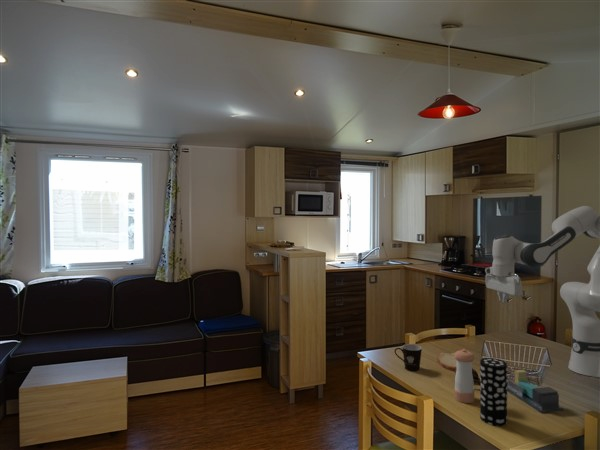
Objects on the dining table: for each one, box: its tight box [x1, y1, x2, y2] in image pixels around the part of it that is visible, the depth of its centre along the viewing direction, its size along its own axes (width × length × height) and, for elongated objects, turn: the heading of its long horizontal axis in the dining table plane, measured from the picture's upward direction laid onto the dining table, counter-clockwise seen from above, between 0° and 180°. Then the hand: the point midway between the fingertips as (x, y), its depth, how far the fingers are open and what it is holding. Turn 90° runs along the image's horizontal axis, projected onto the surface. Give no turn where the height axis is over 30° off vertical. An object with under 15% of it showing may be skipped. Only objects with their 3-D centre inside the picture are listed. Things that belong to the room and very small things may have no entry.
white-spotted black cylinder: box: [479, 357, 508, 427], centre depth 136 cm, size 8×8×20 cm
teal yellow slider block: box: [514, 369, 540, 398], centre depth 151 cm, size 4×15×7 cm, turn 9°
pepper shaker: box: [453, 348, 475, 404], centre depth 152 cm, size 7×7×19 cm
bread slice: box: [436, 351, 457, 373], centre depth 189 cm, size 18×18×4 cm
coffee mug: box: [394, 343, 423, 372], centre depth 183 cm, size 12×9×10 cm
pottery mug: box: [454, 367, 480, 385], centre depth 168 cm, size 12×10×8 cm
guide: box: [507, 379, 565, 414], centre depth 153 cm, size 9×24×6 cm, turn 10°
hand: (503, 301), depth 178 cm, fingers closed
